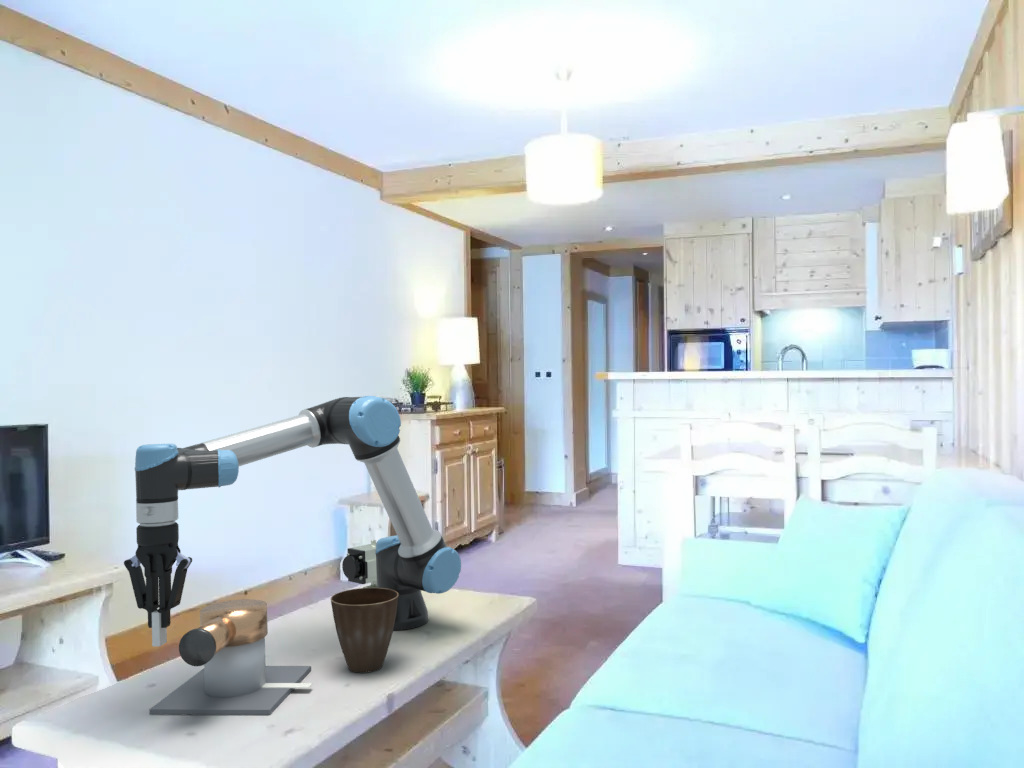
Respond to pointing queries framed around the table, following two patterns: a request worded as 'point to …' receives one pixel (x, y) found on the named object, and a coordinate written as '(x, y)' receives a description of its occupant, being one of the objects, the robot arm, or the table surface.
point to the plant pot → (364, 625)
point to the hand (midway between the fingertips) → (159, 644)
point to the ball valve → (361, 565)
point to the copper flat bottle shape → (224, 629)
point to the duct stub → (235, 685)
